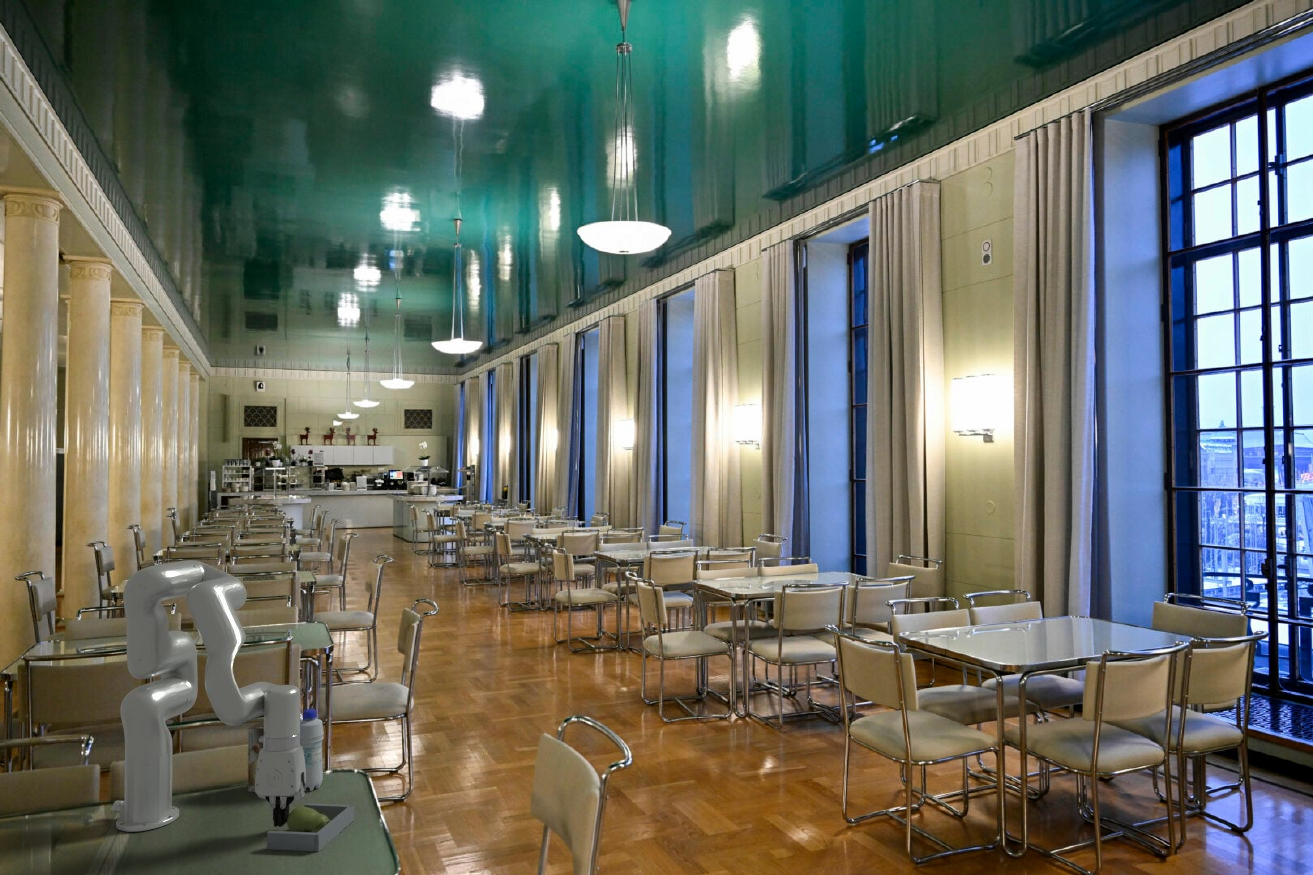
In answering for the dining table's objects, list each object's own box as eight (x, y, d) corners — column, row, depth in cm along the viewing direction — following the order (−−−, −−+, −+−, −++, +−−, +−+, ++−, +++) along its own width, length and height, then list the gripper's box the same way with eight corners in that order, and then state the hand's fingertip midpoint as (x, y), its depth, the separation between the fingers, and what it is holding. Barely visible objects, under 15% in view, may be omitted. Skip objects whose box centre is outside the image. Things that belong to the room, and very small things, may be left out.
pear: (298, 800, 194) (338, 810, 192) (295, 823, 194) (334, 833, 192) (284, 810, 189) (324, 820, 187) (280, 833, 188) (320, 844, 187)
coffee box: (294, 784, 219) (294, 721, 220) (279, 793, 213) (279, 729, 214) (262, 782, 221) (262, 720, 221) (246, 791, 215) (246, 727, 215)
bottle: (313, 793, 213) (313, 713, 214) (289, 792, 214) (290, 712, 215) (328, 784, 219) (329, 706, 220) (305, 782, 221) (306, 704, 221)
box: (267, 849, 182) (267, 832, 182) (306, 818, 198) (306, 803, 198) (318, 851, 181) (318, 834, 181) (354, 820, 196) (354, 805, 197)
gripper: (241, 746, 189) (239, 829, 188) (304, 748, 187) (303, 832, 187) (260, 735, 196) (259, 815, 196) (321, 737, 195) (320, 818, 194)
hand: (280, 823), depth 191 cm, fingers closed
